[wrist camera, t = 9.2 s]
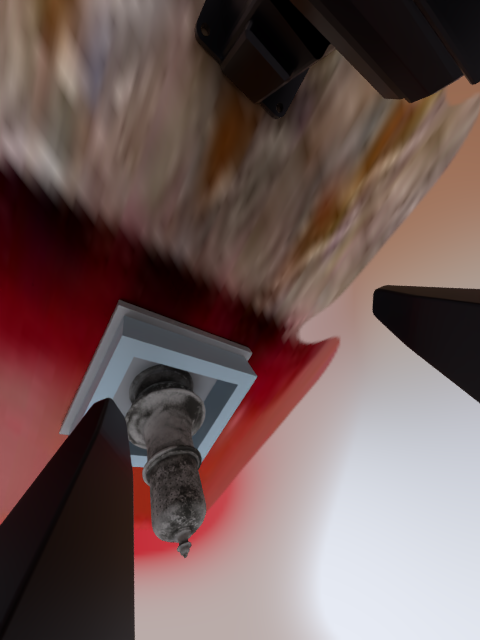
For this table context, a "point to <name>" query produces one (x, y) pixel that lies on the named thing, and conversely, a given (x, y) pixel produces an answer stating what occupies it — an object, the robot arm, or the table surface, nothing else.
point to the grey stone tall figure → (169, 449)
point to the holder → (168, 349)
